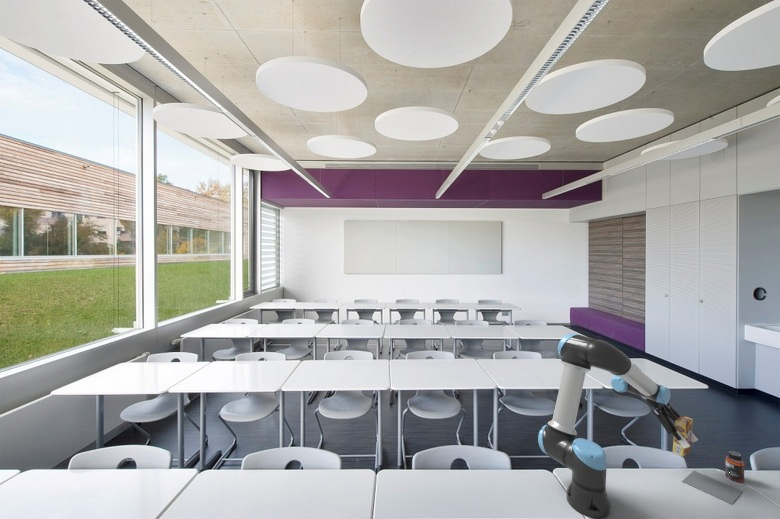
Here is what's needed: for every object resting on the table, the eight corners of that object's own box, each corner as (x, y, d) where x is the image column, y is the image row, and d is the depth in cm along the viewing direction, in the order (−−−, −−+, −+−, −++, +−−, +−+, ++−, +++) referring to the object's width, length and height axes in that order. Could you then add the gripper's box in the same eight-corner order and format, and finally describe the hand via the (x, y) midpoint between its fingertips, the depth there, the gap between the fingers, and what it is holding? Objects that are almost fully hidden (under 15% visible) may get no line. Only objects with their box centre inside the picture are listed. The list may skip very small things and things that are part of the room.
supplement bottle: (741, 477, 156) (742, 452, 155) (745, 484, 151) (747, 459, 150) (723, 472, 159) (724, 448, 159) (727, 479, 154) (728, 454, 154)
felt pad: (681, 481, 152) (681, 481, 152) (693, 471, 160) (693, 470, 160) (731, 504, 139) (731, 503, 139) (742, 491, 146) (742, 491, 146)
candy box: (684, 457, 153) (685, 423, 153) (672, 453, 157) (673, 419, 157) (691, 451, 158) (693, 418, 158) (679, 447, 162) (681, 414, 162)
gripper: (654, 394, 176) (692, 440, 163) (634, 403, 165) (674, 454, 151) (667, 388, 171) (708, 434, 158) (647, 396, 160) (690, 448, 147)
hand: (691, 444), depth 155 cm, fingers closed on candy box, 9 cm apart
